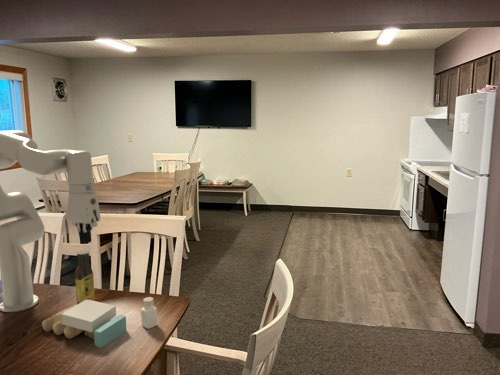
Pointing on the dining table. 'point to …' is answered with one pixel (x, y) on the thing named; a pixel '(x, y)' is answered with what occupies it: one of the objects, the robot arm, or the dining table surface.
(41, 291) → the dining table surface
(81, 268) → the sauce bottle
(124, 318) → the block
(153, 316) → the pepper shaker
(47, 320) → the roller track
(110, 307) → the slab
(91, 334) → the roller
